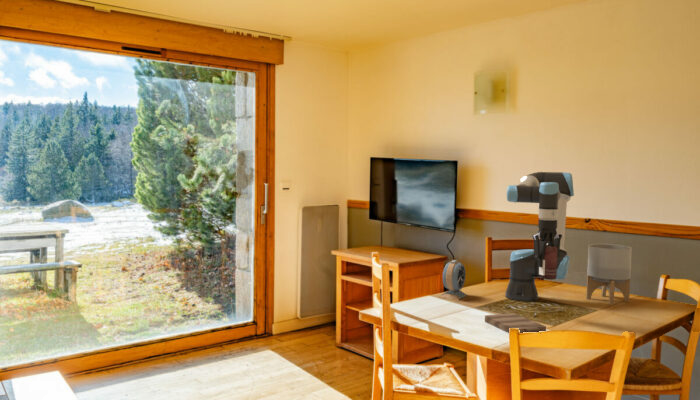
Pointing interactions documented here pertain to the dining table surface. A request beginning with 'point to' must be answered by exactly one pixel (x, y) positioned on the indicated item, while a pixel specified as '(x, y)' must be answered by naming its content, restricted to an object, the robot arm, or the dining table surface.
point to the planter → (609, 269)
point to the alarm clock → (454, 280)
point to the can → (550, 263)
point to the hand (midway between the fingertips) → (545, 274)
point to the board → (514, 322)
